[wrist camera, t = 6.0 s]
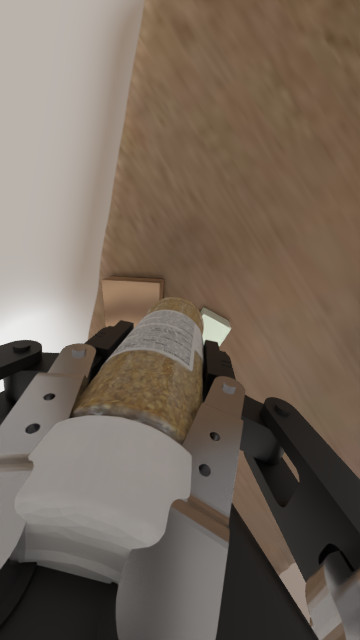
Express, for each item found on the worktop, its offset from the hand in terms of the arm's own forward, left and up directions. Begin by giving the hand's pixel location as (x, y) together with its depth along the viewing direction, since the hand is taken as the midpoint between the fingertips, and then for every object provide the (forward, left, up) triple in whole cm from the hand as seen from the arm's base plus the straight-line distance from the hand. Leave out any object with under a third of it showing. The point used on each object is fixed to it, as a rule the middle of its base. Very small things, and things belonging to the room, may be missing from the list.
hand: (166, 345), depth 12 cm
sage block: (+7, +5, -24) cm, 25 cm away
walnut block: (+6, -8, -24) cm, 26 cm away
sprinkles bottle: (0, 0, -4) cm, 4 cm away
